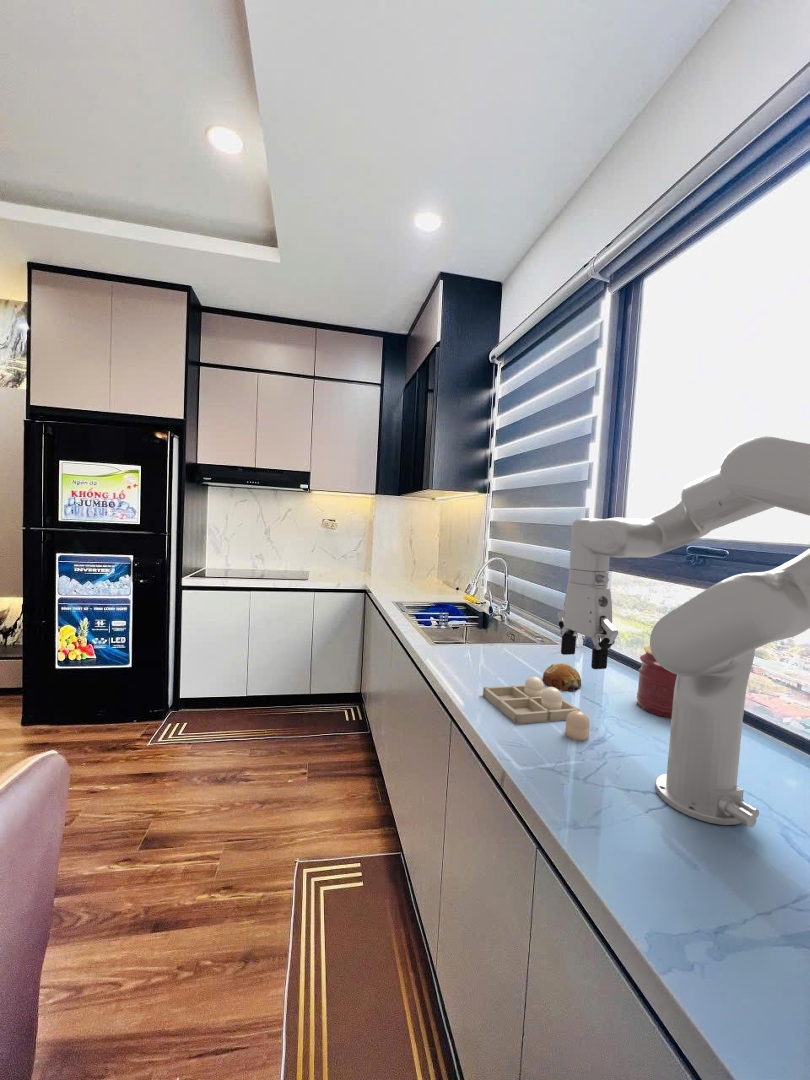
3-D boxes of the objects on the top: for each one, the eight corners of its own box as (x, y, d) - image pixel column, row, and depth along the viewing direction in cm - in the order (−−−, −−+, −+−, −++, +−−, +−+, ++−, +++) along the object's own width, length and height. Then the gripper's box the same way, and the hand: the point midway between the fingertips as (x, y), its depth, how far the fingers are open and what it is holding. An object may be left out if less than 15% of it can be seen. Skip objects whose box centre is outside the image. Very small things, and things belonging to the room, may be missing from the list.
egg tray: (578, 720, 104) (579, 709, 104) (516, 726, 99) (517, 714, 99) (538, 693, 119) (539, 684, 119) (482, 697, 114) (483, 687, 114)
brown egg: (593, 742, 94) (595, 715, 94) (574, 744, 93) (576, 716, 92) (578, 732, 98) (580, 706, 98) (560, 733, 97) (562, 707, 97)
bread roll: (576, 696, 129) (575, 667, 132) (587, 693, 119) (585, 662, 122) (540, 693, 130) (539, 664, 133) (548, 690, 120) (547, 659, 123)
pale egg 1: (546, 702, 112) (548, 679, 112) (530, 703, 111) (532, 680, 110) (536, 695, 116) (537, 673, 116) (520, 696, 115) (521, 674, 115)
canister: (643, 715, 109) (649, 642, 108) (630, 695, 122) (635, 630, 121) (705, 724, 106) (711, 649, 105) (685, 703, 119) (690, 635, 118)
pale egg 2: (565, 715, 105) (567, 690, 105) (548, 716, 104) (549, 691, 104) (553, 706, 110) (555, 683, 109) (536, 708, 108) (538, 684, 108)
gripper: (635, 585, 87) (628, 674, 88) (576, 573, 103) (571, 648, 104) (602, 584, 85) (596, 676, 85) (547, 573, 101) (542, 649, 102)
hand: (582, 661), depth 95 cm, fingers open, 9 cm apart
